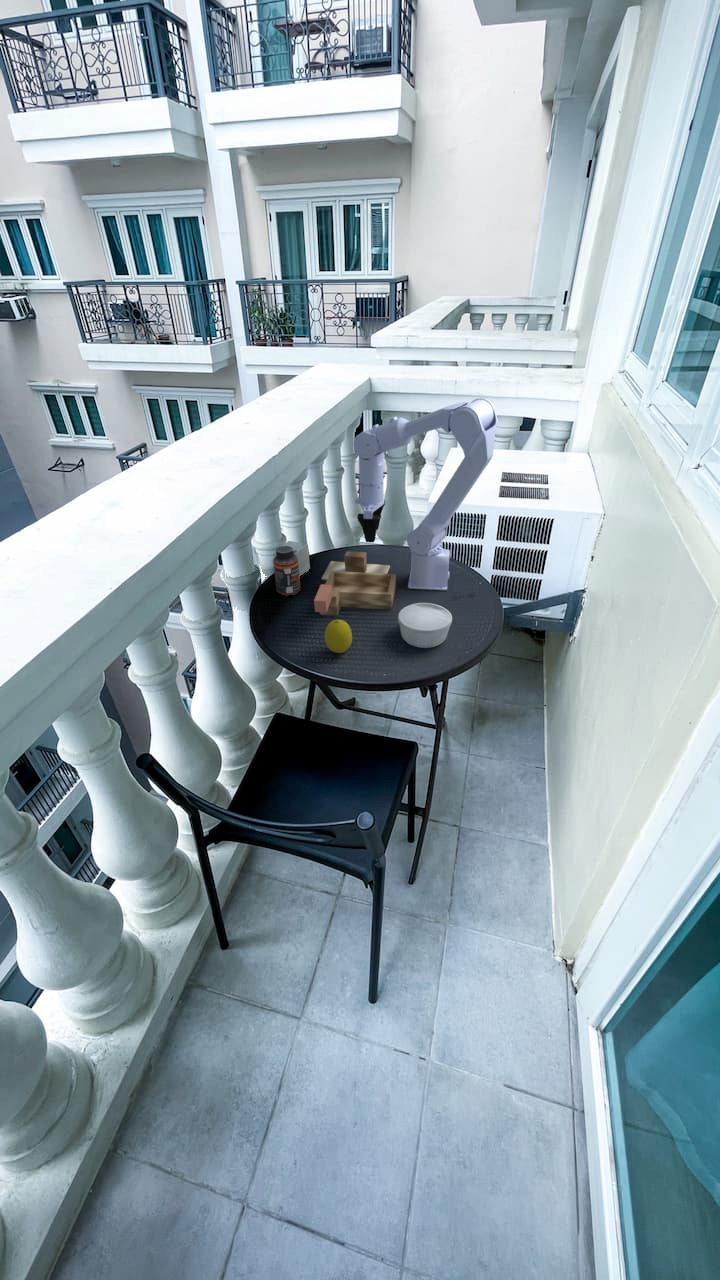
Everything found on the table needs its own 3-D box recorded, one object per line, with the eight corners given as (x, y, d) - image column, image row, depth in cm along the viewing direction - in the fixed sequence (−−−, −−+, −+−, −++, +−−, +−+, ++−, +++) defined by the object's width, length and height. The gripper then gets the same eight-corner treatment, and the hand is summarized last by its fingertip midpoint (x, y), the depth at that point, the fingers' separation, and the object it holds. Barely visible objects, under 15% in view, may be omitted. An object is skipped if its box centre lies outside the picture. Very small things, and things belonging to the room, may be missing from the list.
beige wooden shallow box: (395, 588, 134) (395, 570, 131) (389, 618, 122) (389, 599, 119) (331, 585, 136) (330, 567, 133) (320, 614, 124) (318, 595, 122)
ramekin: (452, 625, 120) (454, 604, 117) (448, 654, 111) (450, 633, 108) (401, 620, 122) (402, 600, 119) (394, 648, 113) (394, 627, 110)
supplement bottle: (296, 598, 131) (292, 555, 125) (273, 596, 132) (267, 553, 126) (303, 586, 136) (299, 544, 129) (281, 584, 137) (276, 543, 130)
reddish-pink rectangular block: (332, 596, 121) (332, 584, 119) (326, 612, 115) (325, 601, 114) (321, 595, 121) (320, 584, 120) (314, 611, 116) (314, 600, 114)
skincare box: (290, 565, 146) (288, 540, 141) (310, 569, 143) (308, 543, 139) (278, 575, 141) (275, 549, 137) (299, 579, 139) (296, 553, 135)
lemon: (349, 661, 110) (348, 628, 105) (323, 659, 110) (320, 626, 106) (355, 646, 114) (353, 613, 109) (329, 643, 115) (327, 611, 110)
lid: (389, 568, 144) (389, 548, 140) (383, 587, 136) (383, 565, 132) (331, 564, 147) (330, 543, 143) (321, 582, 139) (319, 560, 135)
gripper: (359, 472, 136) (360, 523, 144) (350, 492, 124) (351, 546, 132) (387, 472, 135) (387, 524, 143) (380, 493, 123) (380, 548, 131)
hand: (372, 535), depth 137 cm, fingers open, 7 cm apart
